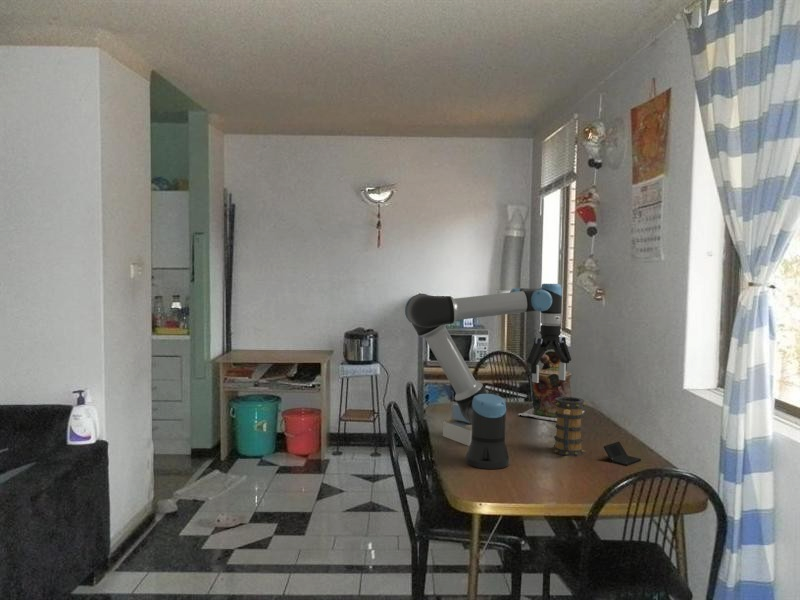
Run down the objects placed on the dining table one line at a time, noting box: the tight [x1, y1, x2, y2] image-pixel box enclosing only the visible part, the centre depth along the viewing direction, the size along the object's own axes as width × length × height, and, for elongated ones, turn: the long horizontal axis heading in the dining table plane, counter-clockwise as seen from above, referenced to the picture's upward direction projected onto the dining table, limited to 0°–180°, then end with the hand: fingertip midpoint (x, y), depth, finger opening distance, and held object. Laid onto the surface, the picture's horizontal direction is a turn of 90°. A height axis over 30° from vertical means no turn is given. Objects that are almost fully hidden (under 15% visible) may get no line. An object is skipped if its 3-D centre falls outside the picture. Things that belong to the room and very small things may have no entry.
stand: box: [442, 417, 472, 447], centre depth 265 cm, size 14×18×7 cm
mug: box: [550, 396, 588, 457], centre depth 246 cm, size 13×17×20 cm
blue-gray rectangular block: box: [451, 402, 470, 423], centre depth 265 cm, size 5×15×6 cm, turn 47°
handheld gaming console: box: [603, 441, 642, 467], centre depth 239 cm, size 12×7×10 cm
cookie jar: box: [517, 350, 585, 422], centre depth 312 cm, size 25×25×32 cm
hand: (548, 381), depth 248 cm, fingers open, 13 cm apart
